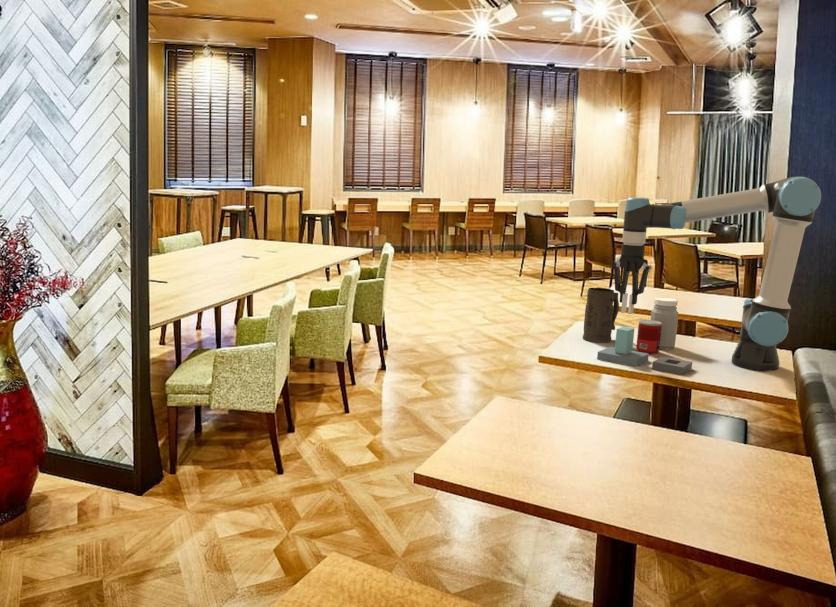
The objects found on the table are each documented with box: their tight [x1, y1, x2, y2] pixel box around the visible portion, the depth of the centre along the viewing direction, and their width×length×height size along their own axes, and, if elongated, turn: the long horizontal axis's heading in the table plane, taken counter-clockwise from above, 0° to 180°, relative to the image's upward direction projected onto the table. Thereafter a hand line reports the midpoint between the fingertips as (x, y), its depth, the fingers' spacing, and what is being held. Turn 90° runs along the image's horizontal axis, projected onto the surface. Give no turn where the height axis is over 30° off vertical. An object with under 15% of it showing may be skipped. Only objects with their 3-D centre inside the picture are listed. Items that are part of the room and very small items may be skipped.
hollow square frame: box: [651, 356, 693, 375], centre depth 260 cm, size 10×10×2 cm
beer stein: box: [582, 287, 620, 344], centre depth 299 cm, size 15×11×20 cm
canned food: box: [635, 319, 662, 355], centre depth 283 cm, size 8×8×11 cm
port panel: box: [596, 346, 650, 367], centre depth 269 cm, size 14×11×2 cm
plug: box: [614, 326, 635, 355], centre depth 268 cm, size 4×6×11 cm, turn 144°
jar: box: [650, 296, 679, 350], centre depth 291 cm, size 10×10×18 cm
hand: (627, 312), depth 266 cm, fingers open, 2 cm apart
